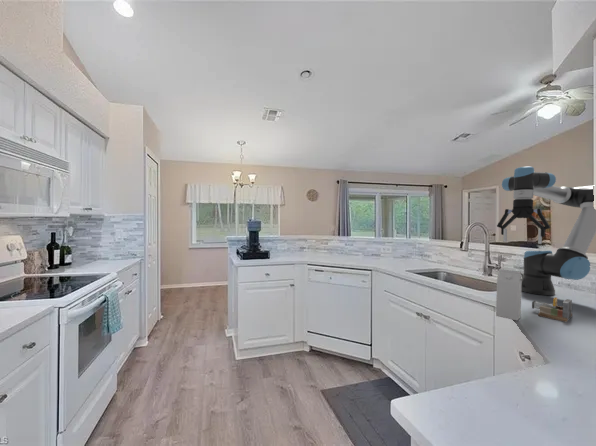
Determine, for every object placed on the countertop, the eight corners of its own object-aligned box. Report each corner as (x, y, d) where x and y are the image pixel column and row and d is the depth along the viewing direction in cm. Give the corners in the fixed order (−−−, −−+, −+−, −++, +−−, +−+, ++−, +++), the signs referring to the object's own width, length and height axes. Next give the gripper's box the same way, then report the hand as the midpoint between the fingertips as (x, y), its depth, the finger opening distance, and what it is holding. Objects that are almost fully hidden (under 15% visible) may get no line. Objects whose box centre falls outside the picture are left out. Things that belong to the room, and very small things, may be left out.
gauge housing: (545, 310, 122) (545, 294, 122) (572, 315, 115) (572, 299, 115) (538, 315, 114) (538, 298, 114) (566, 321, 108) (567, 304, 108)
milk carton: (499, 312, 118) (500, 268, 117) (520, 316, 113) (521, 270, 112) (495, 316, 113) (497, 270, 112) (517, 321, 108) (519, 272, 107)
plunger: (534, 307, 122) (534, 293, 122) (557, 311, 116) (557, 297, 115) (531, 308, 119) (532, 294, 119) (555, 313, 113) (555, 299, 113)
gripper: (490, 199, 142) (489, 240, 142) (555, 197, 122) (554, 245, 123) (495, 200, 147) (494, 240, 147) (559, 198, 127) (558, 244, 127)
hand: (521, 242), depth 135 cm, fingers open, 13 cm apart
